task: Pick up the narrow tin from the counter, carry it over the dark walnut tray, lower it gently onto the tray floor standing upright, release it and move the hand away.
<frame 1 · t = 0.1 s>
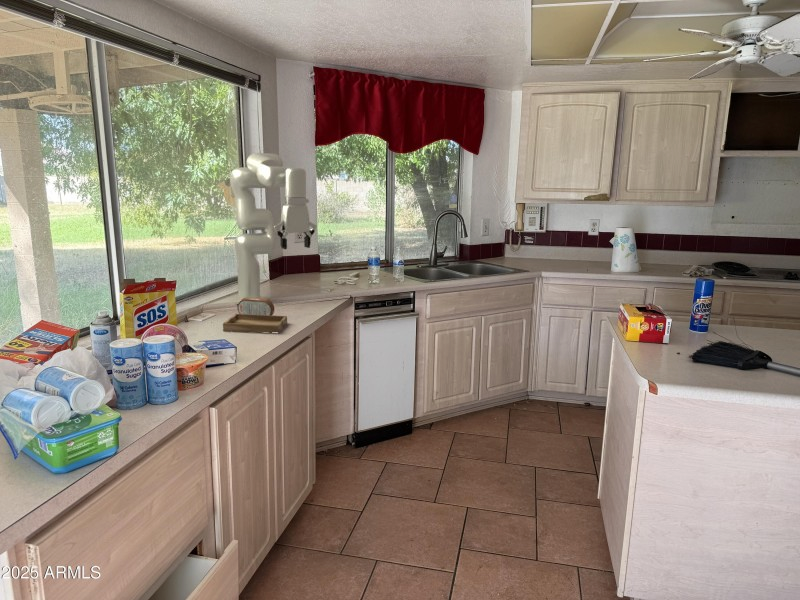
hand: (295, 248, 204), 31 cm above the table, tool pointing down, fingers open, 9 cm apart
walnut tray: (256, 327, 209), on the table
tin: (255, 318, 221), on the table
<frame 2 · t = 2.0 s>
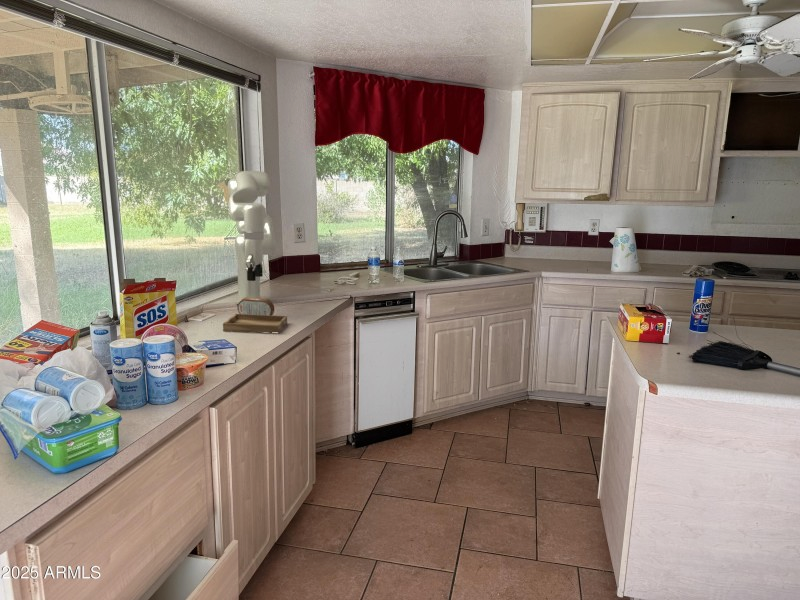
hand: (255, 278, 217), 17 cm above the table, tool pointing down, fingers open, 9 cm apart
nothing on the table moved.
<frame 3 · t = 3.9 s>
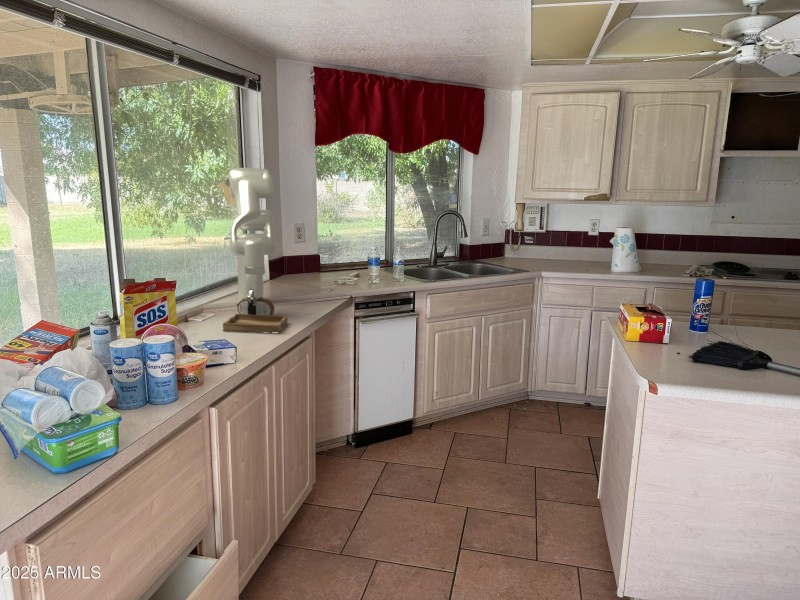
hand: (255, 311, 220), 3 cm above the table, tool pointing down, fingers open, 9 cm apart
nothing on the table moved.
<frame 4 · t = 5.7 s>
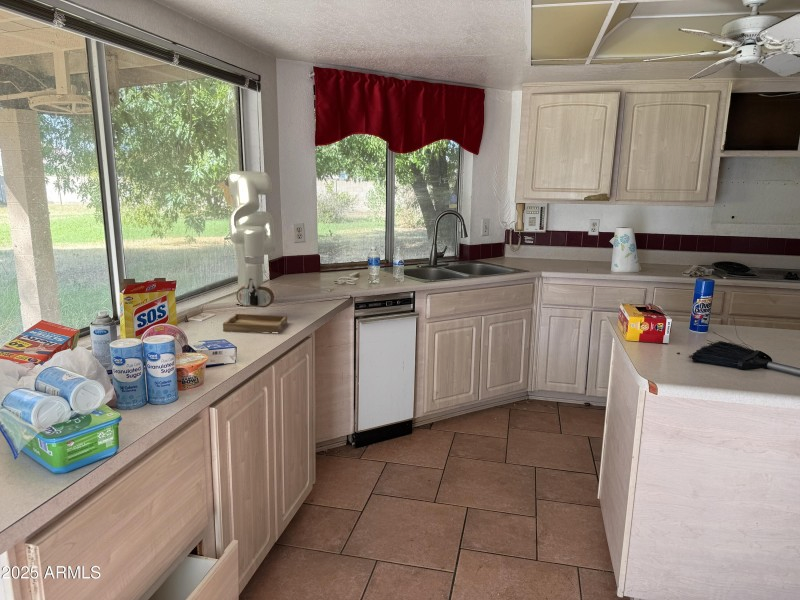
hand: (255, 303, 221), 6 cm above the table, tool pointing down, fingers closed on tin, 2 cm apart
tin: (255, 306, 221), point 5 cm above the table, touching gripper
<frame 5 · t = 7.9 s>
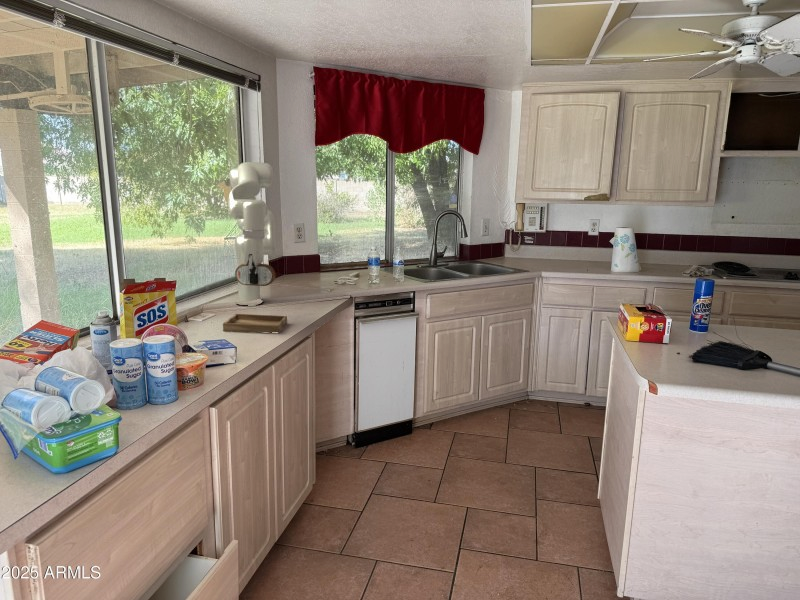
hand: (255, 282, 205), 17 cm above the table, tool pointing down, fingers closed on tin, 2 cm apart
tin: (255, 286, 206), point 16 cm above the table, touching gripper
when the fingers open (3 cm above the table, at t = 11.0 s): tin stays where it is, resting on walnut tray.
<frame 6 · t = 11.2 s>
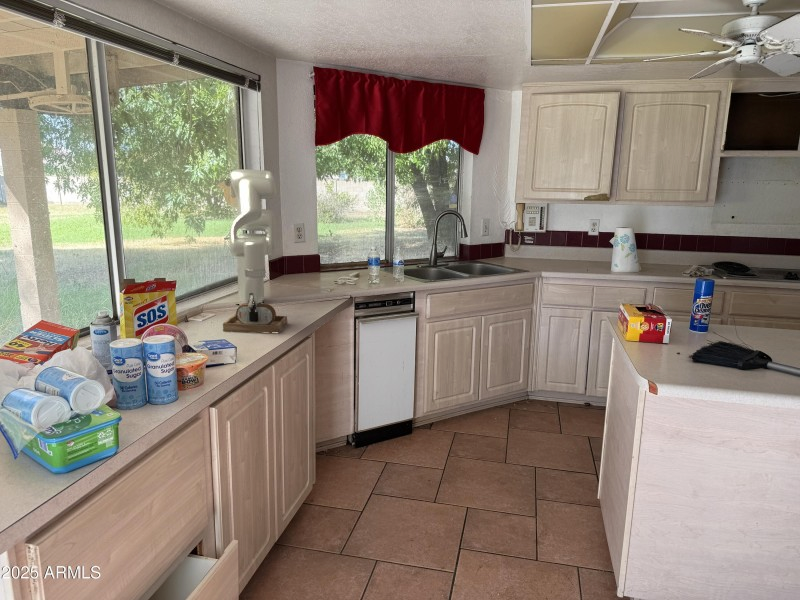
hand: (256, 319, 208), 3 cm above the table, tool pointing down, fingers open, 4 cm apart
tin: (255, 325, 208), point 1 cm above the table, touching walnut tray
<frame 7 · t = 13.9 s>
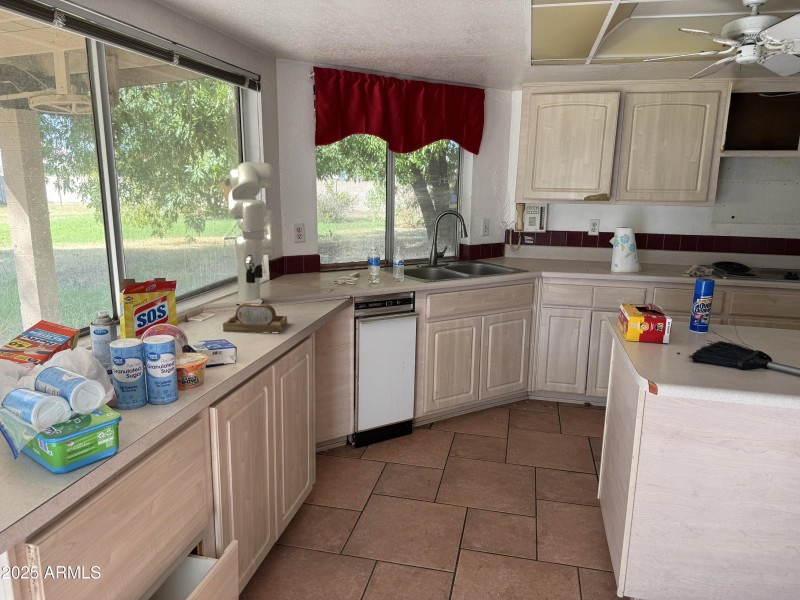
hand: (254, 280, 205), 18 cm above the table, tool pointing down, fingers open, 9 cm apart
nothing on the table moved.
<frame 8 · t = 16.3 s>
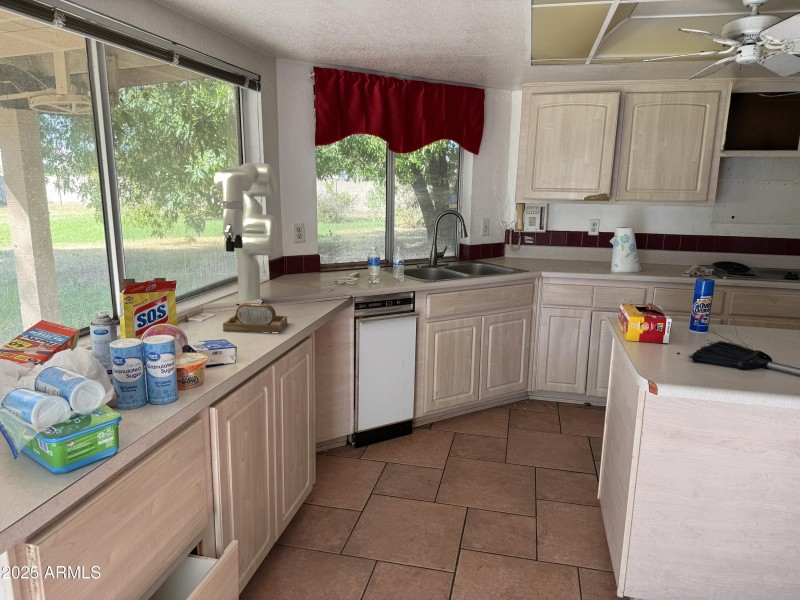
hand: (234, 249, 212), 28 cm above the table, tool pointing down, fingers open, 9 cm apart
nothing on the table moved.
at the end: tin inside the target area on the walnut tray (0.1 cm from its centre), point 0.8 cm above the walnut tray's base; tin tilted 0°; the gripper is holding nothing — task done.
